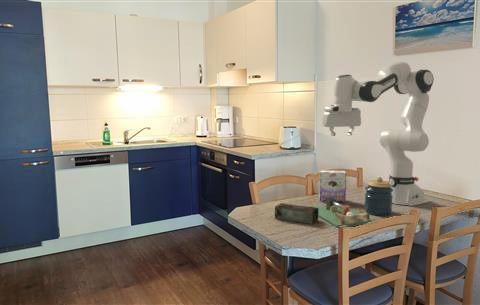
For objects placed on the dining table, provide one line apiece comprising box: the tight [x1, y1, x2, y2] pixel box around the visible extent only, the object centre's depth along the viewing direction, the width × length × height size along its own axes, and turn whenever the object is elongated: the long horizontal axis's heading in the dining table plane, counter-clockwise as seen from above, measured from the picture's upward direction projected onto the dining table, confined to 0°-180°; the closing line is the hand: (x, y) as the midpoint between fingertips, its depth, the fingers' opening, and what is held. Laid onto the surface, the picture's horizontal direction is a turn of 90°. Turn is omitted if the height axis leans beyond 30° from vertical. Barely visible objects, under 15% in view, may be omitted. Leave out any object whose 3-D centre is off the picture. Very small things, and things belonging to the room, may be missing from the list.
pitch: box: [309, 203, 376, 228], centre depth 191 cm, size 20×30×3 cm, turn 18°
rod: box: [324, 197, 351, 216], centre depth 192 cm, size 17×3×5 cm, turn 18°
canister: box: [363, 176, 393, 217], centre depth 196 cm, size 13×13×18 cm
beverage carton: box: [274, 202, 319, 225], centre depth 186 cm, size 8×19×7 cm, turn 61°
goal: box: [335, 209, 370, 224], centre depth 181 cm, size 14×6×4 cm, turn 108°
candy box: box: [319, 169, 347, 203], centre depth 218 cm, size 14×6×16 cm, turn 80°
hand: (341, 135), depth 200 cm, fingers open, 8 cm apart
